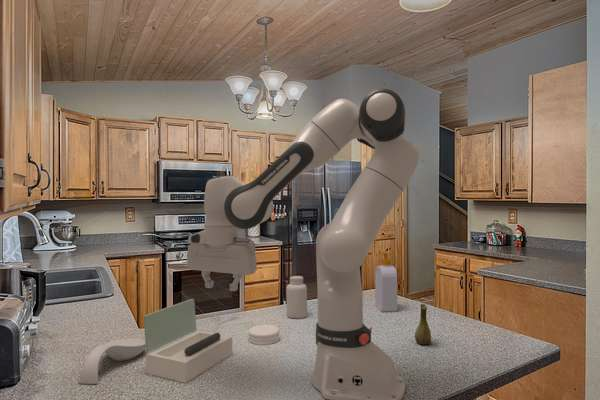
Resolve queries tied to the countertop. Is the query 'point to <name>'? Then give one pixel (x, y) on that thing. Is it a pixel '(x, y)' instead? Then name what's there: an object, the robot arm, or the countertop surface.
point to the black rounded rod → (202, 344)
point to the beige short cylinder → (263, 334)
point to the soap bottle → (386, 286)
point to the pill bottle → (296, 298)
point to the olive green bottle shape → (423, 328)
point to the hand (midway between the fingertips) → (221, 289)
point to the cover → (169, 324)
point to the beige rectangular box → (187, 357)
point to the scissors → (220, 322)
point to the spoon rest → (113, 349)
